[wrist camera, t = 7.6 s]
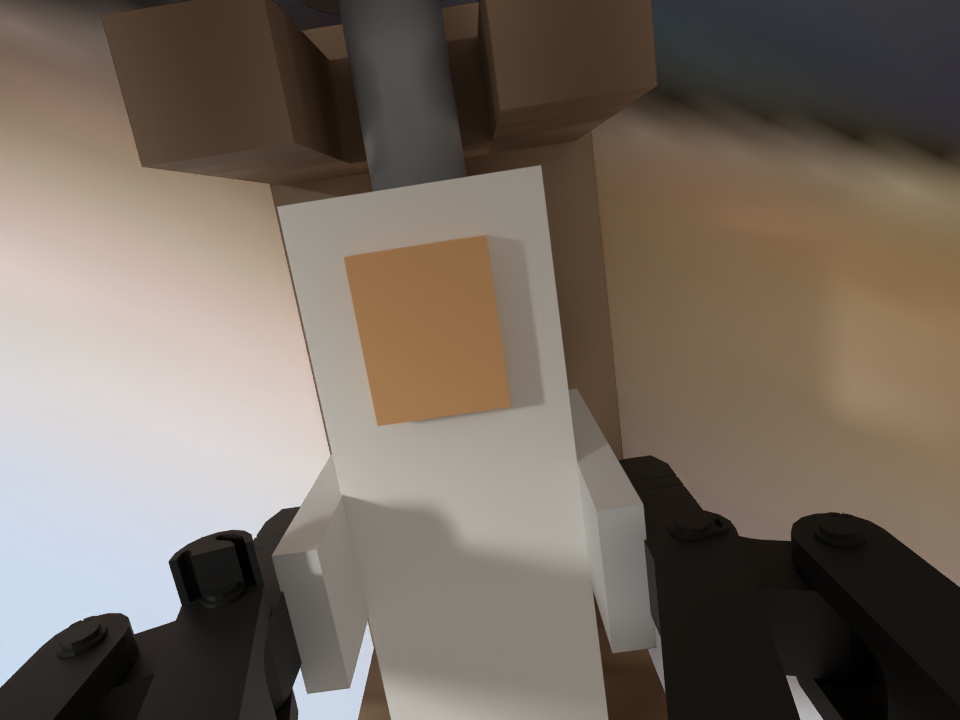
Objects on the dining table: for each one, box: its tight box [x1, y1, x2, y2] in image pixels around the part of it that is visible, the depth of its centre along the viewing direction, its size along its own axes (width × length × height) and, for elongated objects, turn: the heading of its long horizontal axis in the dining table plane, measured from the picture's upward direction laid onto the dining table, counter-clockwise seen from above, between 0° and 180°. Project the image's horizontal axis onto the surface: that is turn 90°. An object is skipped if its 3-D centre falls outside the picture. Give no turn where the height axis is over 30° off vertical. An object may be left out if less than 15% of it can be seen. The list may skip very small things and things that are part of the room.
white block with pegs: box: [277, 0, 608, 720], centre depth 14 cm, size 5×24×6 cm, turn 9°
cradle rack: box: [101, 0, 668, 720], centre depth 17 cm, size 10×24×9 cm, turn 8°
